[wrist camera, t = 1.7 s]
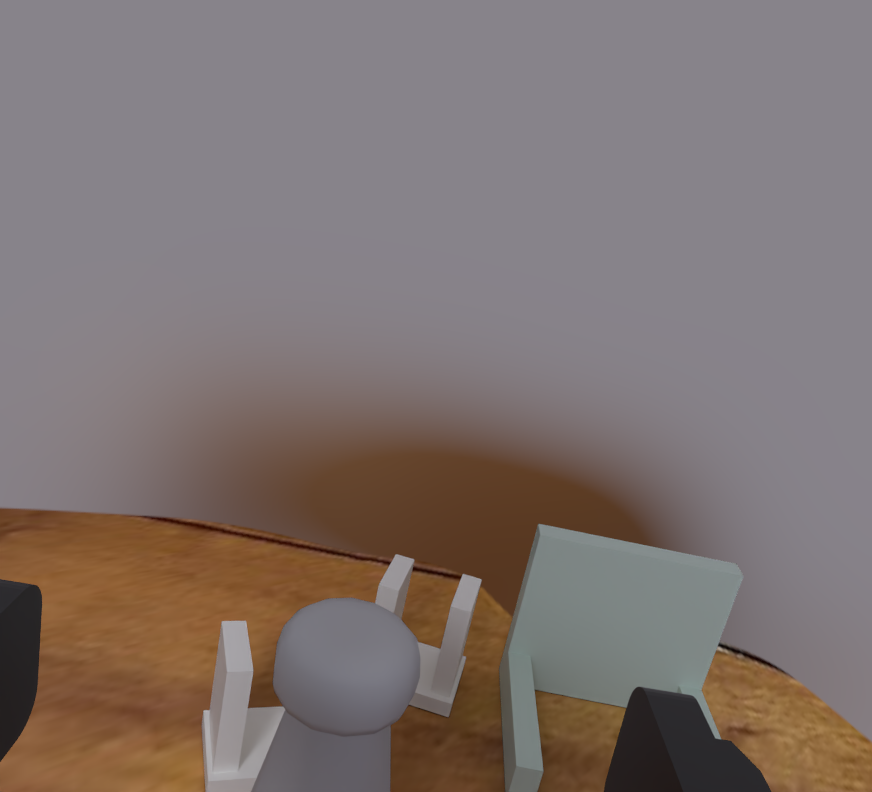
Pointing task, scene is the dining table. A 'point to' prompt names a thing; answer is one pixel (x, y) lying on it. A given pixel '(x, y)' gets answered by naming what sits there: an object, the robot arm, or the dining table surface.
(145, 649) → the dining table surface
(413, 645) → the salt shaker
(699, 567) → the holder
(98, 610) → the dining table surface
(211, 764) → the clip
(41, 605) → the robot arm
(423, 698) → the clip
